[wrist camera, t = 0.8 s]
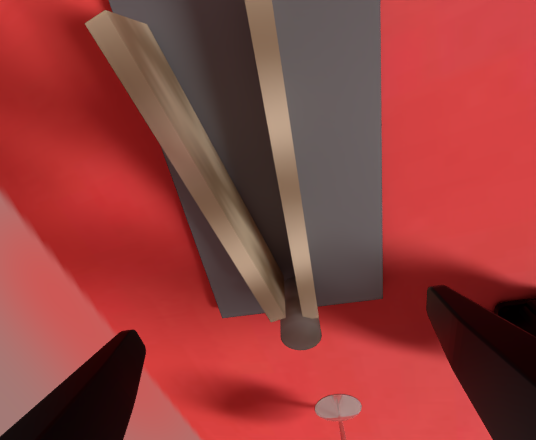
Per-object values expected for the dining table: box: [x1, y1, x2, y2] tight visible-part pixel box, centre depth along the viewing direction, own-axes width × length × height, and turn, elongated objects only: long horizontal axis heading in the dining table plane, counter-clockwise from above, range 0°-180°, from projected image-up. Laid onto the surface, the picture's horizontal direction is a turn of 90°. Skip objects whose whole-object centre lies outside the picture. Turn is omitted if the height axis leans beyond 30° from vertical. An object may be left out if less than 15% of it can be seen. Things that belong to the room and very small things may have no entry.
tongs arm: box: [85, 10, 286, 322], centre depth 16 cm, size 17×1×4 cm, turn 25°
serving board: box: [109, 0, 383, 318], centre depth 19 cm, size 22×13×1 cm, turn 11°
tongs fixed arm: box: [245, 0, 322, 350], centre depth 16 cm, size 20×3×4 cm, turn 11°
